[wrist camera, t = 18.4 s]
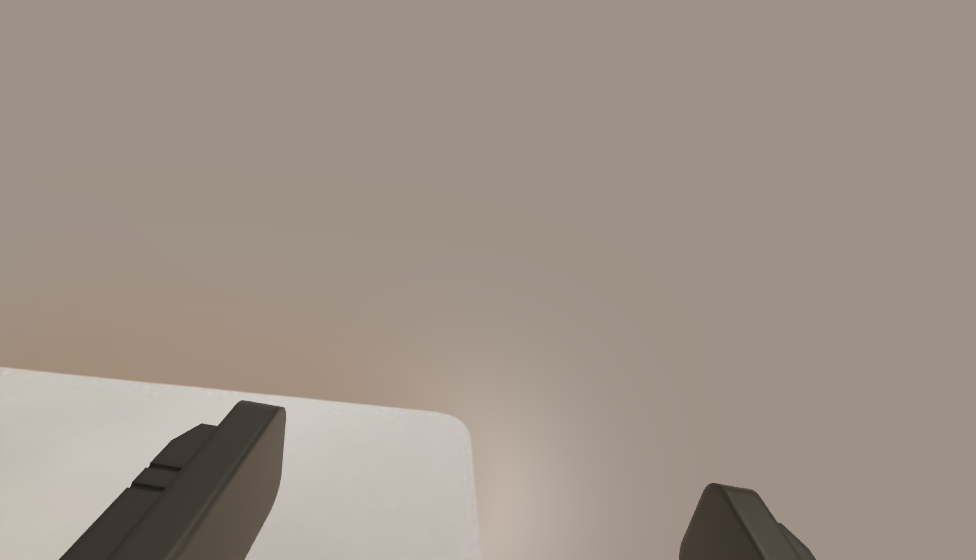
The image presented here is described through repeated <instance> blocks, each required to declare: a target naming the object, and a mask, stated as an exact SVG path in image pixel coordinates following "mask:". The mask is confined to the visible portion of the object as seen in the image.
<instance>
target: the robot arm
mask: <svg viewBox="0 0 976 560" xmlns="http://www.w3.org/2000/svg"><path fill="white" fill-rule="evenodd" d="M285 423H286V411H285V408H284V407H279V406H273V405H267V404H262V403H256V402H250V401H244V400H242V401H240V402H238V403H237V404H236V405H235V406H234V408H233V409H232V410H231V411H230V412H229V413H228V415H227V416H226V417H225V418H224V419H223V421H222V422H221V423H220V424H219V425H218V426H213V425H207V424H200V425H198V426H196V427H195V428H193V429H191V430H189V431H187V432H186V433H184V434H182V435H180V436H178V437H177V438H175V439H173V440H171V442H170V443H169V444H168V445H167V446H166V447H165V448H164V449H163V450H162V451H161V452H160V453H159V454H158V455H157V456H156V457H155V458H154V460H153V461H152V462H151V463H150V466H149V468H145V469H144V470H143V471H142V472H141V473H140V474H139V475H138V476H137V478H136V479H135V480H134V481H133V482H132V485H131V487H130V488H126V489H125V490H124V491H123V492H122V493H121V494H120V496H119V497H118V498H117V499H116V500H115V501H114V502H113V503H112V504H111V505H110V506H109V507H108V508H107V509H106V510H105V511H104V513H103V514H102V515H101V516H100V517H99V518H98V519H97V520H96V521H95V522H94V523H93V524H92V525H91V526H90V527H89V528H88V529H87V531H86V532H85V533H84V534H83V535H82V536H81V537H80V538H79V539H78V540H77V541H76V542H75V543H74V544H73V545H72V546H71V547H70V549H69V550H68V551H67V552H66V553H65V554H64V555H63V556H62V557H61V558H60V559H59V560H244V559H245V557H246V555H247V554H248V552H249V550H250V548H251V546H252V544H253V542H254V541H255V539H256V537H257V535H258V533H259V531H260V529H261V528H262V526H263V524H264V522H265V520H266V518H267V516H268V515H269V513H270V511H271V509H272V506H273V504H274V501H275V498H276V495H277V492H278V489H279V485H280V480H281V472H282V460H283V447H284V435H285ZM679 560H816V559H815V557H814V556H813V555H812V553H811V552H810V550H809V549H808V548H807V547H806V546H805V545H804V544H803V543H802V542H801V541H800V540H799V539H798V538H796V537H795V536H794V535H793V534H792V533H791V532H790V531H789V530H788V529H787V528H786V527H785V526H783V525H782V524H781V523H777V521H776V520H775V518H774V517H773V515H772V514H771V512H770V511H769V510H768V508H767V507H766V505H765V504H764V502H763V501H762V499H761V498H760V497H759V495H758V494H757V493H756V492H755V491H753V490H750V489H745V488H739V487H733V486H727V485H722V484H716V483H711V484H709V485H708V486H707V487H706V488H705V490H704V491H703V493H702V496H701V498H700V500H699V503H698V505H697V508H696V510H695V512H694V515H693V517H692V519H691V522H690V524H689V526H688V529H687V531H686V533H685V536H684V538H683V541H682V543H681V547H680V554H679Z"/></svg>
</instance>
